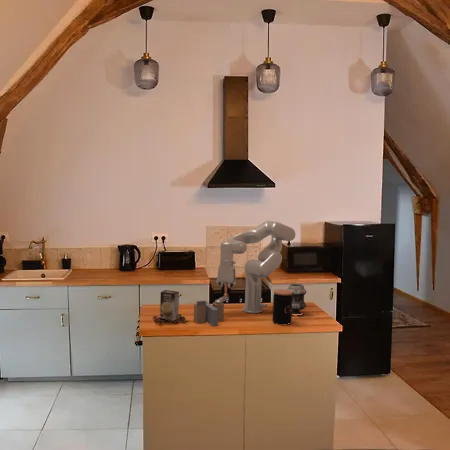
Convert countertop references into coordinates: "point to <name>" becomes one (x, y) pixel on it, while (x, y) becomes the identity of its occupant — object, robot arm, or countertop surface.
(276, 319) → the coffee jar
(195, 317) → the grey twin block
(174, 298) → the coffee box
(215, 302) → the swing bar
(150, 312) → the countertop surface
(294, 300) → the apothecary jar
